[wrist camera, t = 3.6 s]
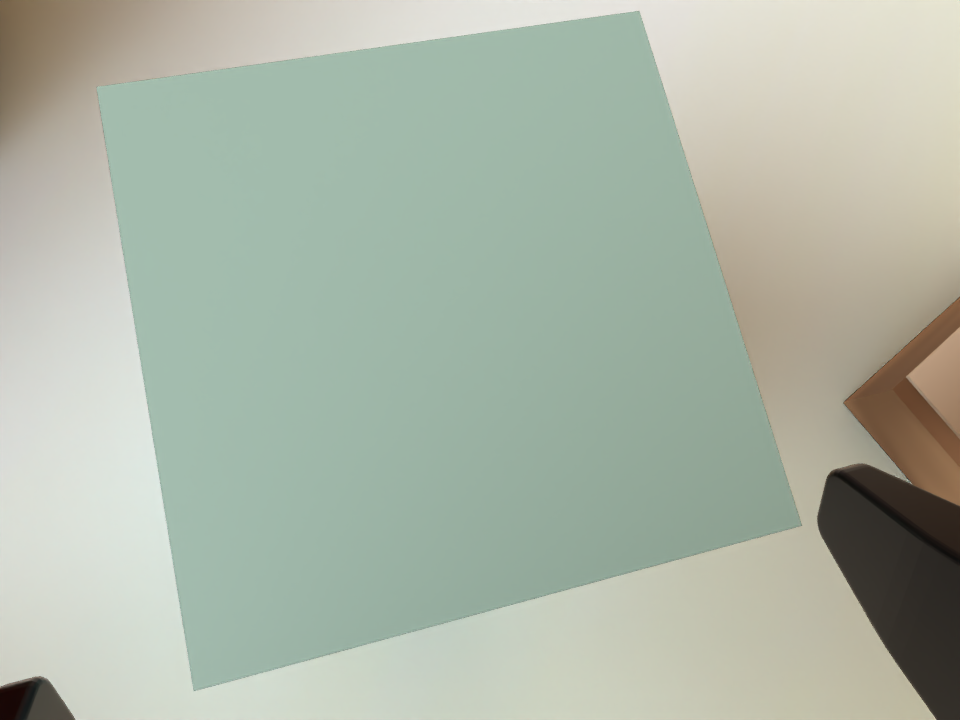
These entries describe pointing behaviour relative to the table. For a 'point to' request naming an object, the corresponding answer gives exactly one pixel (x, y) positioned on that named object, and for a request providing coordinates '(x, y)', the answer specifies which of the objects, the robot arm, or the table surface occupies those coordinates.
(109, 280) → the table surface
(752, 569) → the table surface
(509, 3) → the table surface
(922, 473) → the brown long stepped block
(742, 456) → the pillar
